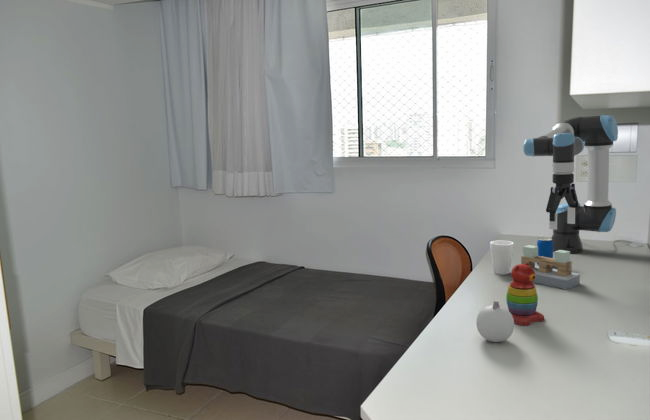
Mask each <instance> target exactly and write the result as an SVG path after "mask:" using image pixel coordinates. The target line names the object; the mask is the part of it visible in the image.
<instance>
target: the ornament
mask: <svg viewBox="0 0 650 420" xmlns="http://www.w3.org/2000/svg"><path fill="white" fill-rule="evenodd" d="M475 323H476V328H477V331H478V333H479V335H480V336H481V337H482V338H484V339H485V340H487V341H489V342H493V343H501V342H505V341H507V340H508V339H510V337H511V336H512V334H513V333H514V329H515V323H514V319H513V317H512V315H511V313H510V312H509V310H508V308H506V307H503V306H501V305H500V301H498V300H493V304H491V305H488V306H485V307H483V308H481V310H479V312H478V314H477V316H476V322H475Z"/></svg>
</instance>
